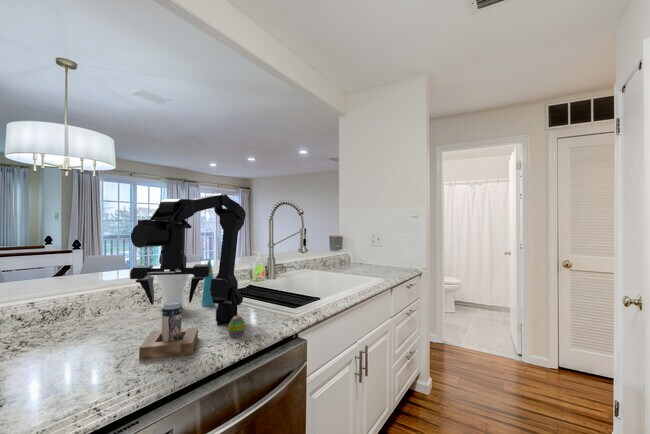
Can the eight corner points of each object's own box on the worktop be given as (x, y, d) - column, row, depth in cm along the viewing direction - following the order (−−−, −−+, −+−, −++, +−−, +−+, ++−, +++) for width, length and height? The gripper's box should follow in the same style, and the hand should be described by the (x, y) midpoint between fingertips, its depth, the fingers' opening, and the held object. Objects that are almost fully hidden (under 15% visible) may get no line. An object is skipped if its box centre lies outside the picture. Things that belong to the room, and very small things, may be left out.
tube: (215, 306, 123) (216, 258, 123) (202, 307, 121) (203, 258, 121) (213, 302, 130) (214, 256, 130) (201, 303, 127) (202, 256, 128)
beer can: (173, 352, 80) (174, 305, 80) (157, 350, 80) (158, 304, 81) (184, 345, 84) (185, 301, 84) (169, 343, 85) (170, 300, 85)
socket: (197, 337, 90) (197, 327, 90) (192, 354, 78) (192, 342, 78) (151, 341, 86) (152, 330, 86) (139, 360, 75) (139, 347, 75)
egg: (240, 339, 89) (241, 318, 89) (225, 338, 90) (225, 317, 90) (247, 333, 94) (248, 313, 94) (233, 332, 95) (233, 312, 95)
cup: (193, 307, 120) (194, 271, 121) (166, 314, 111) (167, 275, 111) (177, 303, 126) (178, 269, 127) (149, 309, 117) (150, 272, 117)
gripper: (212, 243, 93) (210, 295, 93) (143, 243, 88) (141, 298, 87) (209, 246, 82) (207, 304, 82) (130, 246, 77) (128, 308, 77)
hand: (171, 303), depth 82 cm, fingers open, 9 cm apart
